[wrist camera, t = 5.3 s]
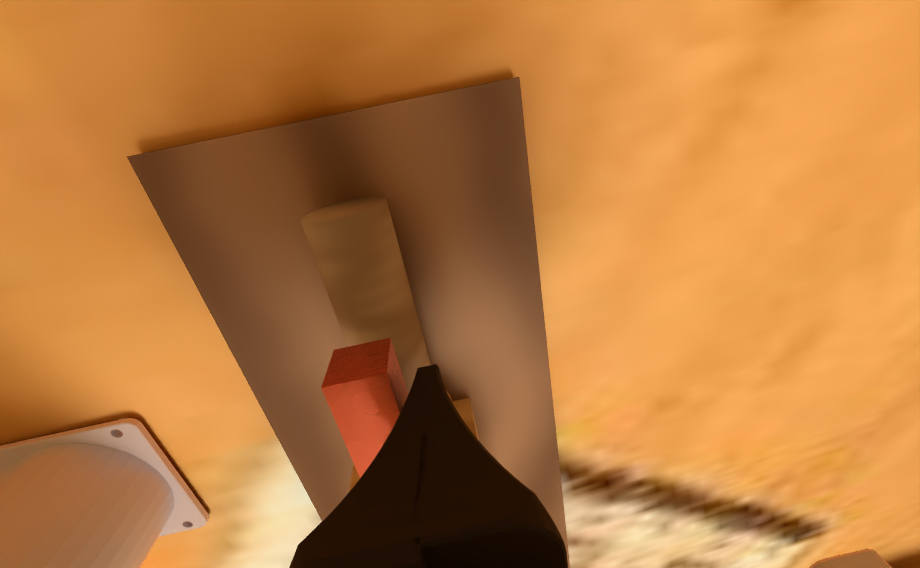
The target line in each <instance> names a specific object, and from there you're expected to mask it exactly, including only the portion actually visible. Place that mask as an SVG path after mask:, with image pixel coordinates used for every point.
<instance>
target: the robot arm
mask: <svg viewBox="0 0 920 568" xmlns="http://www.w3.org/2000/svg"><path fill="white" fill-rule="evenodd" d="M208 520H209V514H208V513H207V512H206V510H205V509H204V507H203V506H202V505H201V503H200V502H199V501H198V499H197V498H196V497H195V495H194V494H193V492H192V491H191V490H190V488H189V487H188V486H187V484H186V483H185V481H184V480H183V479H182V477H181V476H180V475H179V473H178V472H177V471H176V469H175V468H174V466H173V465H172V464H171V462H170V461H169V460H168V458H167V457H166V455H165V454H164V453H163V451H162V450H161V449H160V447H159V446H158V445H157V443H156V442H155V440H154V439H153V438H152V436H151V435H150V434H149V432H148V431H147V429H146V428H145V427H144V425H143V424H142V423H141V422H140V421H139V420H137V419H134V418H125V419H121V420H116V421H111V422H107V423H102V424H98V425H93V426H88V427H84V428H79V429H74V430H70V431H65V432H61V433H56V434H51V435H47V436H42V437H38V438H33V439H28V440H24V441H19V442H14V443H10V444H5V445H1V446H0V568H140V566H141V565H142V563H143V561H144V559H145V558H146V556H147V554H148V553H149V551H150V549H151V548H152V546H153V544H154V543H155V541H156V539H157V538H158V537H160V536H164V535H169V534H173V533H178V532H182V531H187V530H191V529H196V528H200V527H203V526H205V525H206V524H207V522H208ZM290 568H568V561H567V551H566V547H565V544H564V541H563V539H562V537H561V534H560V532H559V530H558V528H557V526H556V525H555V523H554V521H553V520H552V518H551V516H550V515H549V513H548V512H547V510H546V509H545V507H544V506H543V504H542V503H541V501H540V500H539V498H538V497H537V495H536V494H535V493H534V492H533V491H532V490H530V489H529V488H528V487H526V486H525V485H524V484H523V483H521V482H520V481H519V480H518V479H517V478H515V477H514V476H513V475H512V474H511V473H510V472H509V471H508V470H506V469H505V468H504V467H503V466H502V465H501V464H500V463H499V462H498V461H497V460H496V459H495V458H494V457H493V456H492V455H491V454H490V453H489V452H488V451H487V450H486V448H485V447H484V446H483V445H482V444H481V443H480V441H479V440H478V439H477V438H476V437H475V435H474V434H473V433H472V432H471V430H470V429H469V428H468V426H467V425H466V423H465V422H464V421H463V419H462V418H461V416H460V415H459V413H458V412H457V410H456V408H455V407H454V405H453V403H452V401H451V399H450V397H449V396H448V394H447V392H446V390H445V387H444V385H443V381H442V377H441V373H440V369H439V366H437V364H434V365H429V366H424V367H420V368H417V372H416V375H415V378H414V381H413V384H412V387H411V389H410V392H409V394H408V397H407V399H406V401H405V403H404V406H403V408H402V410H401V412H400V415H399V417H398V418H397V420H396V422H395V424H394V426H393V428H392V430H391V432H390V434H389V436H388V437H387V439H386V441H385V442H384V444H383V446H382V447H381V449H380V451H379V452H378V454H377V455H376V457H375V458H374V460H373V461H372V463H371V464H370V465H369V467H368V468H367V470H366V471H365V472H364V474H363V475H362V477H361V478H360V479H359V481H358V482H357V483H356V484H355V486H354V487H353V488H352V489H351V490H350V492H349V493H348V494H347V495H346V496H345V497H344V499H343V500H342V501H341V502H340V503H339V504H338V506H337V507H336V508H335V509H334V510H333V511H332V512H331V513H330V514H329V515H328V516H327V517H326V518H325V519H324V520H323V521H322V522H321V523H320V524H319V525H318V526H317V527H316V528H315V529H314V530H313V531H312V532H311V533H310V534H309V535H308V536H307V537H306V538H305V539H304V540H303V541H302V542H301V543H300V544H299V545H298V547H297V549H296V552H295V555H294V557H293V560H292V562H291V565H290ZM810 568H892V567H891V566H890V565H889V564H888V563H887V562H886V561H885V560H884V559H883V558H882V557H881V556H880V555H879V554H878V553H877V552H876V551H874V550H870V549H865V550H861V551H856V552H852V553H847V554H843V555H838V556H834V557H829V558H825V559H822V560H820V561H817V562H816V563H814V564H813V565H811V566H810Z"/></svg>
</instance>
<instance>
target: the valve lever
mask: <svg viewBox="0 0 920 568" xmlns="http://www.w3.org/2000/svg"><path fill="white" fill-rule="evenodd" d="M321 389H322V391H323V394H324V396H325V398H326V401H327V403H328V405H329V407H330V410H331V412H332V414H333V417H334V419H335V421H336V424H337V426H338V428H339V431H340V433H341V435H342V438H343V440H344V442H345V445H346V447H347V449H348V451H349V454H350V456H351V458H352V461H353V463H354V465H355V468H356V470H357V472H358V475H359V477H360V478H361V477H362V475H363V474H364V472H365V471H366V470H367V468H368V467H369V465H370V464H371V463H372V461H373V460H374V458H375V457H376V455H377V454H378V452H379V451H380V449H381V447H382V446H383V444H384V442H385V441H386V439H387V437H388V436H389V434H390V432H391V430H392V428H393V426H394V424H395V422H396V420H397V418H398V417H399V415H400V412H401V410H402V408H403V406H404V403H405V401H406V399H407V397H408V392H407V389H406V385H405V382H404V379H403V376H402V372H401V369H400V366H399V363H398V359H397V356H396V353H395V350H394V346H393V343H392V340H391V338H386V339H382V340H377V341H372V342H367V343H363V344H358V345H353V346H349V347H344V348H339V349H335V350H334V351H333V354H332V357H331V360H330V363H329V366H328V369H327V372H326V375H325V378H324V381H323V383H322V386H321Z"/></svg>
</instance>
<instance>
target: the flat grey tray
mask: <svg viewBox="0 0 920 568" xmlns="http://www.w3.org/2000/svg"><path fill="white" fill-rule="evenodd" d="M127 158H128V160H129V161H130V163H131V165H132V167H133V169H134V171H135V173H136V175H137V176H138V178H139V180H140V182H141V184H142V186H143V188H144V189H145V191H146V193H147V195H148V197H149V199H150V201H151V202H152V204H153V206H154V208H155V210H156V212H157V214H158V216H159V217H160V219H161V221H162V223H163V225H164V227H165V229H166V230H167V232H168V234H169V236H170V238H171V240H172V242H173V244H174V245H175V247H176V249H177V251H178V253H179V255H180V257H181V258H182V260H183V262H184V264H185V266H186V268H187V270H188V271H189V273H190V275H191V277H192V279H193V281H194V283H195V285H196V286H197V288H198V290H199V292H200V294H201V296H202V298H203V299H204V301H205V303H206V305H207V307H208V309H209V311H210V313H211V314H212V316H213V318H214V320H215V322H216V324H217V326H218V327H219V329H220V331H221V333H222V335H223V337H224V339H225V341H226V342H227V344H228V346H229V348H230V350H231V352H232V354H233V355H234V357H235V359H236V361H237V363H238V365H239V367H240V368H241V370H242V372H243V374H244V376H245V378H246V380H247V382H248V383H249V385H250V387H251V389H252V391H253V393H254V395H255V396H256V398H257V400H258V402H259V404H260V406H261V408H262V410H263V411H264V413H265V415H266V417H267V419H268V421H269V423H270V424H271V426H272V428H273V430H274V432H275V434H276V436H277V437H278V439H279V441H280V443H281V445H282V447H283V449H284V451H285V452H286V454H287V456H288V458H289V460H290V462H291V464H292V465H293V467H294V469H295V471H296V473H297V475H298V477H299V479H300V480H301V482H302V484H303V486H304V488H305V490H306V492H307V493H308V495H309V497H310V499H311V501H312V503H313V505H314V507H315V508H316V510H317V512H318V514H319V516H320V518H321V520H322V521H323V520H324V519H325V518H326V517H327V516H328V515H329V514H330V513H331V512H332V511H333V510H334V509H335V508H336V507H337V506H338V504H339V503H340V502H341V501H342V500H343V499H344V497H345V496H346V495H347V494H348V493H349V492H350V490H351V489H352V488H353V487H354V486H355V484H356V483H357V482H358V481H359V479H360V477H359V475H358V472H357V470H356V468H355V465H354V463H353V461H352V458H351V456H350V454H349V451H348V449H347V447H346V445H345V442H344V440H343V438H342V435H341V433H340V431H339V428H338V426H337V424H336V421H335V419H334V417H333V414H332V412H331V410H330V407H329V405H328V403H327V401H326V398H325V396H324V394H323V391H322V389H321V386H322V383H323V381H324V378H325V375H326V372H327V369H328V366H329V363H330V360H331V357H332V354H333V351H334V350H335V349H339V348H344V347H349V346H353V345H358V344H363V343H367V342H372V341H377V340H382V339H386V338H391V340H392V343H393V346H394V350H395V353H396V356H397V359H398V363H399V366H400V369H401V372H402V376H403V379H404V382H405V385H406V389H407V392H408V394H409V392H410V389H411V387H412V384H413V381H414V378H415V375H416V372H417V368H420V367H424V366H429V365H434V364H437V366H439V369H440V373H441V377H442V381H443V385H444V387H445V390H446V392H447V394H448V396H449V397H450V399H451V401H452V403H453V405H454V407H455V408H456V410H457V412H458V413H459V415H460V416H461V418H462V419H463V421H464V422H465V423H466V425H467V426H468V428H469V429H470V430H471V432H472V433H473V434H474V435H475V437H476V438H477V439H478V440H479V441H480V443H481V444H482V445H483V446H484V447H485V448H486V450H487V451H488V452H489V453H490V454H491V455H492V456H493V457H494V458H495V459H496V460H497V461H498V462H499V463H500V464H501V465H502V466H503V467H504V468H505V469H506V470H508V471H509V472H510V473H511V474H512V475H513V476H514V477H515V478H517V479H518V480H519V481H520V482H521V483H523V484H524V485H525V486H526V487H528V488H529V489H530V490H532V491H533V492H534V493H535V494H536V495H537V497H538V498H539V500H540V501H541V503H542V504H543V506H544V507H545V509H546V510H547V512H548V513H549V515H550V516H551V518H552V520H553V521H554V523H555V525H556V526H557V528H558V530H559V532H560V534H561V537H562V539H563V541H564V544H565V547H566V551H567V561H568V568H570V564H569V554H568V544H567V535H566V525H565V515H564V506H563V496H562V486H561V477H560V467H559V457H558V447H557V438H556V428H555V418H554V409H553V399H552V389H551V380H550V370H549V360H548V351H547V341H546V331H545V322H544V312H543V302H542V293H541V283H540V273H539V264H538V254H537V244H536V235H535V225H534V215H533V206H532V196H531V186H530V176H529V167H528V157H527V147H526V138H525V128H524V118H523V109H522V99H521V89H520V80H519V77H516V78H511V79H506V80H501V81H496V82H491V83H486V84H481V85H476V86H472V87H467V88H462V89H457V90H452V91H447V92H442V93H437V94H432V95H427V96H423V97H418V98H413V99H408V100H403V101H398V102H393V103H388V104H383V105H378V106H373V107H369V108H364V109H359V110H354V111H349V112H344V113H339V114H334V115H329V116H324V117H320V118H315V119H310V120H305V121H300V122H295V123H290V124H285V125H280V126H275V127H270V128H266V129H261V130H256V131H251V132H246V133H241V134H236V135H231V136H226V137H221V138H217V139H212V140H207V141H202V142H197V143H192V144H187V145H182V146H177V147H172V148H167V149H163V150H158V151H153V152H148V153H143V154H138V155H133V156H128V157H127Z"/></svg>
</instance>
